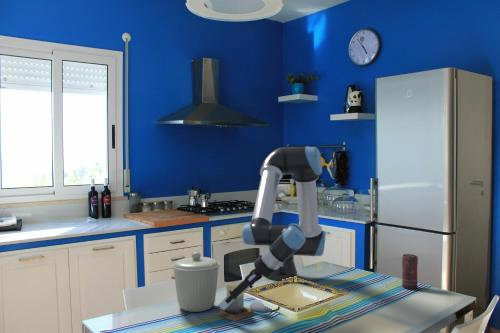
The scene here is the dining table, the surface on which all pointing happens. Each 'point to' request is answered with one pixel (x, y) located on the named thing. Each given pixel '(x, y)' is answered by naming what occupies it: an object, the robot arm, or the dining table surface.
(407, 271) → the can
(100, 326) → the dining table surface
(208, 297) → the canister
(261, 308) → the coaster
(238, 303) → the yellow and grey cylinder
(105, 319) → the dining table surface
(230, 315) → the socket frame
